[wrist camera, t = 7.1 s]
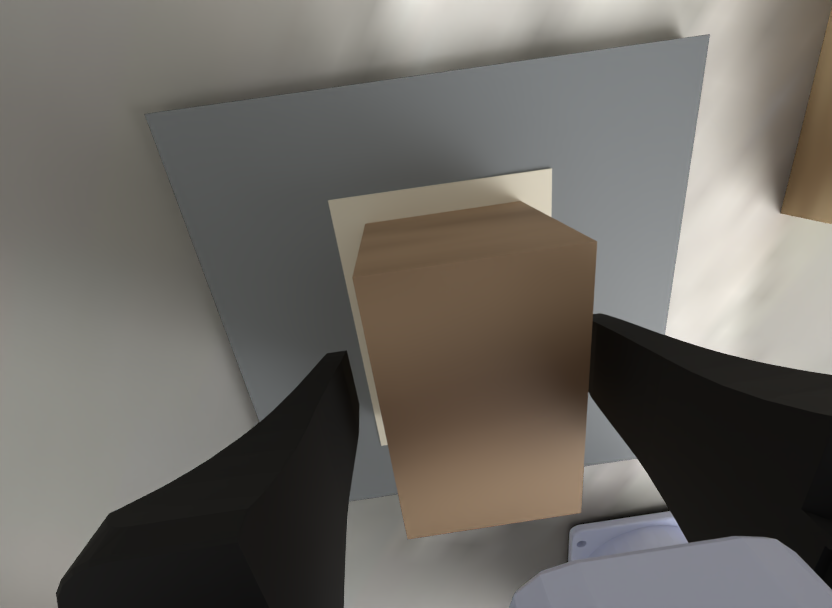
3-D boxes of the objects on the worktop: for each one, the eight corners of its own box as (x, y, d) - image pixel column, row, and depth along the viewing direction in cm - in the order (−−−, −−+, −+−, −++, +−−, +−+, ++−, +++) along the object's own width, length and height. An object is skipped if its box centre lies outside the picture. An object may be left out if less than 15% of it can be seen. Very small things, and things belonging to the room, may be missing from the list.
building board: (633, 441, 18) (647, 458, 18) (297, 491, 18) (291, 511, 17) (685, 41, 12) (712, 33, 11) (162, 115, 12) (142, 113, 11)
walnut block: (525, 402, 16) (581, 512, 11) (401, 420, 16) (407, 539, 11) (520, 200, 12) (597, 241, 8) (365, 223, 12) (352, 277, 8)
